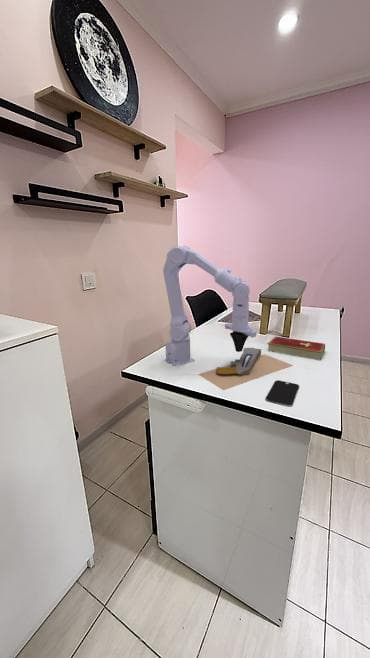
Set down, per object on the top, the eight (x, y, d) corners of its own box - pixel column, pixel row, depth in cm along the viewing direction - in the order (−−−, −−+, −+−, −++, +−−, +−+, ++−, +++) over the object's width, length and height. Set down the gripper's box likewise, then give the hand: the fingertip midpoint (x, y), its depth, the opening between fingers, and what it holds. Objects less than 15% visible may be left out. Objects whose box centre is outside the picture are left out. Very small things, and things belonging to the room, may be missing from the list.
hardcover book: (275, 344, 130) (275, 335, 129) (324, 352, 119) (325, 342, 117) (266, 351, 120) (267, 342, 119) (319, 361, 109) (321, 351, 108)
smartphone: (300, 384, 89) (292, 406, 77) (299, 386, 90) (291, 408, 77) (275, 379, 93) (264, 399, 81) (275, 381, 93) (264, 401, 81)
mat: (223, 391, 87) (223, 389, 87) (198, 375, 99) (198, 374, 99) (292, 366, 105) (293, 365, 105) (264, 355, 116) (264, 354, 116)
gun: (225, 351, 120) (261, 354, 116) (214, 377, 97) (258, 382, 93) (225, 344, 119) (261, 347, 115) (214, 369, 96) (259, 373, 92)
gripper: (263, 317, 96) (261, 354, 100) (234, 310, 108) (233, 343, 112) (248, 320, 93) (246, 358, 96) (220, 313, 104) (220, 347, 108)
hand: (239, 351), depth 104 cm, fingers closed
